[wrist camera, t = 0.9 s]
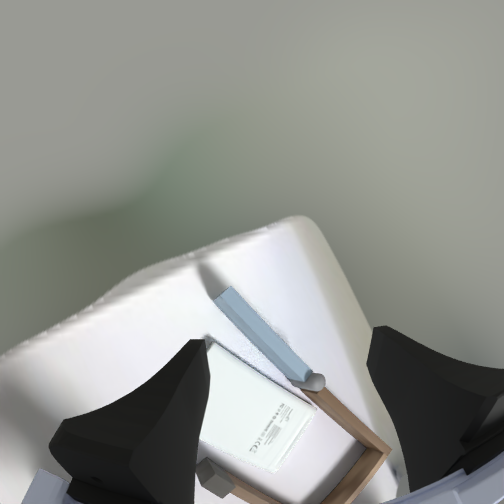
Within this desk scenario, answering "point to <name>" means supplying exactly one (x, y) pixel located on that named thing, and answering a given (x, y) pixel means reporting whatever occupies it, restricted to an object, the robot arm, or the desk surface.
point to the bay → (344, 492)
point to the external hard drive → (251, 413)
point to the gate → (268, 341)
